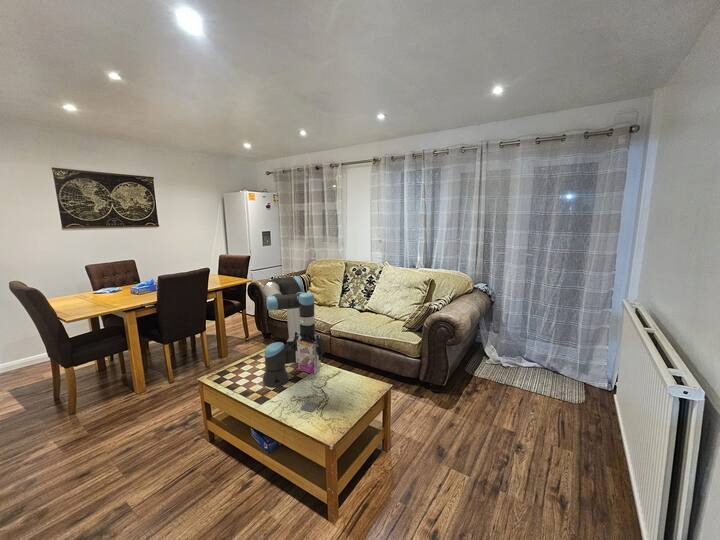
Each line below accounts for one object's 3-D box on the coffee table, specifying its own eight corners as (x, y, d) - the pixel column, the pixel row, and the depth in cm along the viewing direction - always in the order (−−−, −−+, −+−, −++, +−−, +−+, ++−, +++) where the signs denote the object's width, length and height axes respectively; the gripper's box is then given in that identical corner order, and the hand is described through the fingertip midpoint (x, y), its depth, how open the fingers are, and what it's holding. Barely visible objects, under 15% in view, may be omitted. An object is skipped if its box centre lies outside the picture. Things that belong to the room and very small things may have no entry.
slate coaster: (300, 409, 159) (300, 408, 159) (307, 402, 166) (307, 401, 166) (312, 412, 157) (312, 411, 157) (318, 404, 163) (318, 403, 163)
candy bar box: (297, 370, 159) (296, 340, 156) (303, 366, 163) (302, 337, 161) (313, 375, 153) (313, 344, 151) (320, 371, 158) (319, 341, 155)
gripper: (282, 323, 155) (284, 363, 158) (324, 328, 147) (325, 370, 150) (291, 318, 162) (292, 357, 165) (331, 323, 154) (332, 364, 157)
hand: (308, 363), depth 158 cm, fingers closed on candy bar box, 12 cm apart
